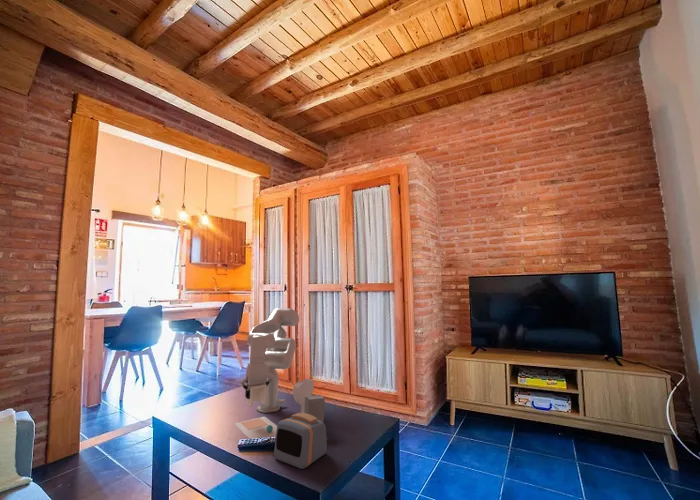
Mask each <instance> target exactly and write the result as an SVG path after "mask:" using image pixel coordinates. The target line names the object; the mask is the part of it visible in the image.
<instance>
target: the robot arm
mask: <svg viewBox="0 0 700 500" xmlns="http://www.w3.org/2000/svg"><path fill="white" fill-rule="evenodd" d="M299 322H300V315H299V313H298V312H297V311H296V310H294V309H293V308H288V307H287V308H286V307H276V308H274V309H272V310H271V312H270V313H269V315H268V317H267V319H266V320H264V321H262V322H261V323H258V324H257V325H255V326H253V328H251V331H249V334H248V335H247V339H246V344H247V346H248V347H250V351H249V355H250V356H249V363H247V365H246V371H245V377H244V378H243V379H242V380H241V381H240V382H239V384H240V385H241V386H242V388H243V390H245V393H244V394H245V395H244V398H245V397H246V398H247V399H250V390H249V389H250V387H251V385H255V384H261V383H263V384H265V385H266V401H265V404H263V403H261V402H260V401H259V405H258V406H257V407H256V410H257V411H258V412H259V413H263V414H264V413H265V414H268V413H269V414H270V413H275V412H278V411H279V410H280V409H281V404H285V403H286V399H285V398H284V399H281V398H279V399H278V396H279V373H278V371H277V370H286V369H287V370H288V369H290V367H291V365H292V363H293V358H294V355H295V352H296V347H297V346H296V345H297V344H296V340H295V339H294V338H293V337H287V336H288V335H287V332H286V330H285V328H283V327H296V326H298V324H299ZM267 349H268V350H267ZM246 384H247V385H246Z"/></svg>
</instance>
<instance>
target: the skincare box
mask: <svg viewBox="0 0 700 500" xmlns="http://www.w3.org/2000/svg"><path fill="white" fill-rule="evenodd" d="M325 401H326V400H325V397H324V396H322V395H321V394H314V395H313V394H312V395H311V396H305V409H304V413H306V414H310V415H312V416H314V417H316V418H317V419H318V420H320V421H322V422H323V423H324V424H325V422H324V421H325Z"/></svg>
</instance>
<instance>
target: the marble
mask: <svg viewBox="0 0 700 500" xmlns="http://www.w3.org/2000/svg"><path fill="white" fill-rule="evenodd" d="M266 430H267V432H271V431H272V430H273V427H272V426H271V425H269V426H267V428H266Z"/></svg>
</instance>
